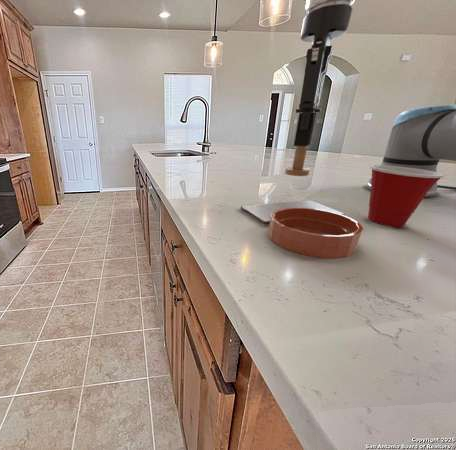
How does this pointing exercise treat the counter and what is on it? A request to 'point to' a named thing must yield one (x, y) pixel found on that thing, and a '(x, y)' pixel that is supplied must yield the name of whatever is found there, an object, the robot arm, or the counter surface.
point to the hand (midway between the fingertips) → (302, 145)
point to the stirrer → (299, 159)
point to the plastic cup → (398, 193)
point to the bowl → (315, 232)
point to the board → (266, 210)
